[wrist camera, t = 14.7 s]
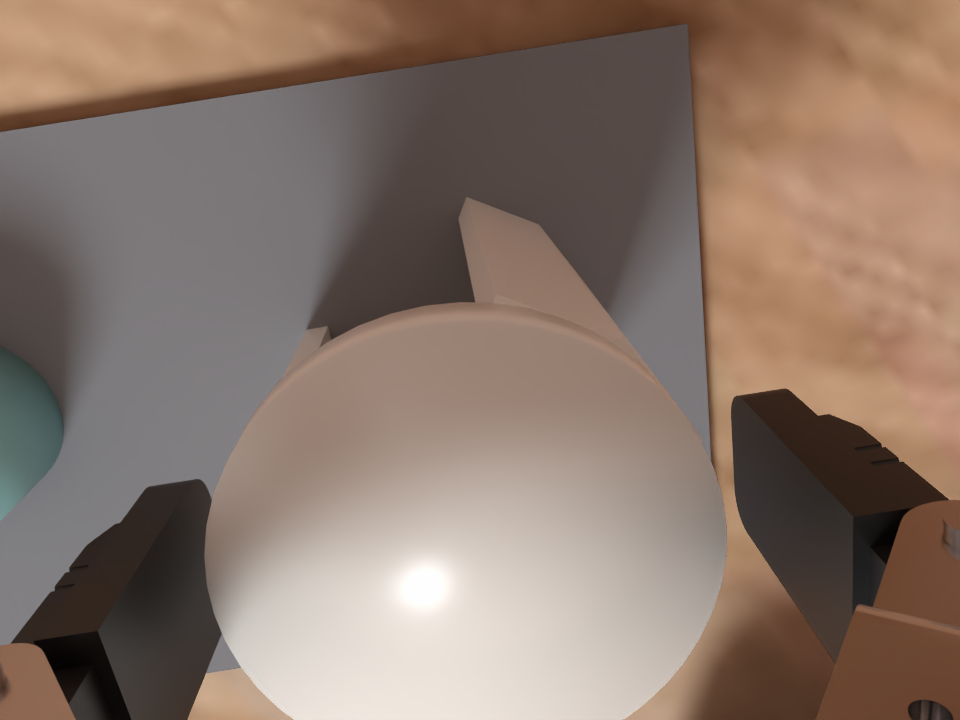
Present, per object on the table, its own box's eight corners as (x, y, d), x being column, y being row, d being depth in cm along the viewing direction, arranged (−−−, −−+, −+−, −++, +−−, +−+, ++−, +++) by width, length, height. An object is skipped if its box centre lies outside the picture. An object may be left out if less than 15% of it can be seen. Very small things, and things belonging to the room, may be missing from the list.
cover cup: (572, 179, 17) (712, 276, 9) (602, 442, 19) (738, 726, 11) (281, 227, 17) (135, 373, 9) (343, 485, 19) (276, 805, 11)
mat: (682, 24, 17) (687, 23, 16) (712, 581, 21) (717, 590, 21) (-457, 204, 16) (-477, 207, 16) (-170, 724, 21) (-180, 735, 21)
